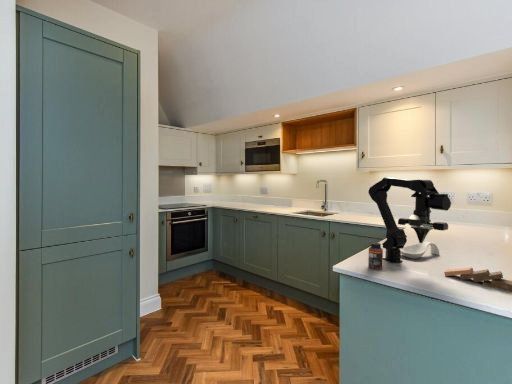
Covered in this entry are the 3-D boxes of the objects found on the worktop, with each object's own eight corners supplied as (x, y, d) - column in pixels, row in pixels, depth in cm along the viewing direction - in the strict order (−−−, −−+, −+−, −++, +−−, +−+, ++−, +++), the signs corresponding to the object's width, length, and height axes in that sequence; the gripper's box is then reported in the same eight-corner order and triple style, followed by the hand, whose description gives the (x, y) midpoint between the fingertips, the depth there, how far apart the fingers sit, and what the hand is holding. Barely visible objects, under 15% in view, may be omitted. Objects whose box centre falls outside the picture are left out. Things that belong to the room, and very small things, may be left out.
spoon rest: (413, 261, 138) (413, 247, 138) (393, 255, 149) (394, 242, 149) (445, 257, 147) (446, 243, 147) (424, 251, 158) (425, 238, 158)
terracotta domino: (443, 272, 118) (469, 269, 112) (447, 269, 121) (472, 267, 115) (445, 275, 118) (470, 273, 111) (448, 273, 121) (473, 271, 115)
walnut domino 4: (491, 280, 106) (524, 287, 100) (493, 277, 110) (525, 283, 103) (491, 284, 106) (524, 291, 100) (493, 281, 110) (525, 288, 103)
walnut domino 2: (472, 278, 111) (500, 273, 105) (473, 275, 114) (500, 271, 109) (474, 282, 110) (502, 278, 105) (475, 279, 114) (502, 275, 108)
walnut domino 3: (483, 282, 108) (514, 289, 102) (484, 279, 111) (515, 285, 105) (482, 286, 108) (514, 293, 102) (484, 283, 112) (514, 289, 105)
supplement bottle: (378, 265, 130) (379, 241, 130) (384, 270, 124) (385, 244, 124) (365, 265, 130) (366, 241, 129) (371, 270, 124) (372, 244, 123)
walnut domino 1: (459, 275, 114) (485, 271, 107) (462, 273, 117) (488, 269, 111) (461, 279, 113) (487, 276, 107) (464, 277, 117) (490, 273, 110)
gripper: (392, 207, 127) (391, 241, 128) (438, 211, 112) (436, 250, 113) (404, 205, 133) (403, 238, 134) (449, 209, 118) (447, 246, 119)
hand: (421, 242), depth 125 cm, fingers closed
